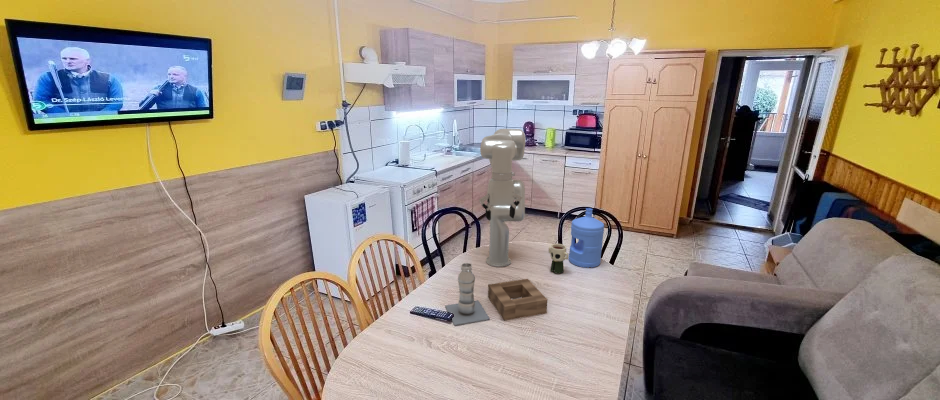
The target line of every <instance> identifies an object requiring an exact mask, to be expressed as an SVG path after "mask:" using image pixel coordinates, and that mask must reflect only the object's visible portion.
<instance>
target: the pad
mask: <svg viewBox="0 0 940 400" xmlns="http://www.w3.org/2000/svg"><path fill="white" fill-rule="evenodd" d="M474 302H475V310H474V312H473V313H471V314H463V313H461V312H460V311H459V308H458V303H452V304H446V305H445V310H446V312H447V313H448V312H452V313H453V314H454V317H453V318H452V320H451V322H452V324H453V326H454V327H458V326H462V325H463V326H464V325H468V324H475V323H481V322H487V321H490V320H491V319H490V318H491V317H490V316H489V314H488V313H487V311H486V309H485V308H484V307H483V306H482V304H481V302H480V301H479V300H478V299H477V300H474Z"/></svg>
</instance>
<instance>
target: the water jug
mask: <svg viewBox="0 0 940 400" xmlns="http://www.w3.org/2000/svg"><path fill="white" fill-rule="evenodd" d="M593 210H594V209H593V208H590V207H585V214H584V215H585V216H582V217H581V216H580V217H577V218H575V219H573V220H572V221H571V227H570V235H571V239H570V240H571V242H570V246H569V253H568V254H569V255H568V260H569V262H570V263H571V264H572V265H573V266H574V265H575V266H577V267H580V268H586V267H587V269H589V267H591V268H596V267H598V266H599V265H600V264H601V262H602V257H601V256H602V250H603V239H604V233H605V224H604V222H602V221H601V220H599V219H597V218H595V217H593ZM576 239H577V240H578V241H577V242H576Z"/></svg>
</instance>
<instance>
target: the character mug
mask: <svg viewBox="0 0 940 400" xmlns="http://www.w3.org/2000/svg"><path fill="white" fill-rule="evenodd" d="M548 254H549V255H550V259H551V260H552V261H551V265H550V272H551V273H555V274H561V273H564V271H565V269H564V261H565V260H569V253H567V246H566V245H565V244H562V243H553V244H551V246H549V247H548Z"/></svg>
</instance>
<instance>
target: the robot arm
mask: <svg viewBox="0 0 940 400" xmlns="http://www.w3.org/2000/svg"><path fill="white" fill-rule="evenodd" d="M525 148H526V134H525V132H524V131H523V130H522V129H521V128H499V129H497V130H496V131H495V132H494V133H493V134H491V135H486V136H484V137H483V138H482V140H481V143H480V150H479V152H480V155H481V157H482V158H483V159H484V160H485V159H486V160H488V161H489V163H490V166H491V178H489V179H488V184H487V191H486V195H483V197H482V196H481V198H479V200H478V201H479V203H480V204H481V206H482V208H484V210H485V218H486V219H487V220H488V221H489V246H488V247H489V251H488V252H489V253H488V254H489V256H487V257H486V259H485V262H486V264H487V265H489V266H492V267H494V268H503V267H504V268H505V267H507V266H509V265H511V263H512V259H511V258H510V257H509V246H510V245H509V242H510V229H509V228H510V227H509V226H508V224H507V223H506V222H522V221H523V220H524V219H525V214H526V206H525V205H526V187H525V183H524V182H523V180H521V179H513V177H514V176H515V172H514V171H512V169H513V168H512V167H513V161H521V160H523V159H524V156H525V150H526V149H525ZM485 202H487V203H485Z"/></svg>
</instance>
